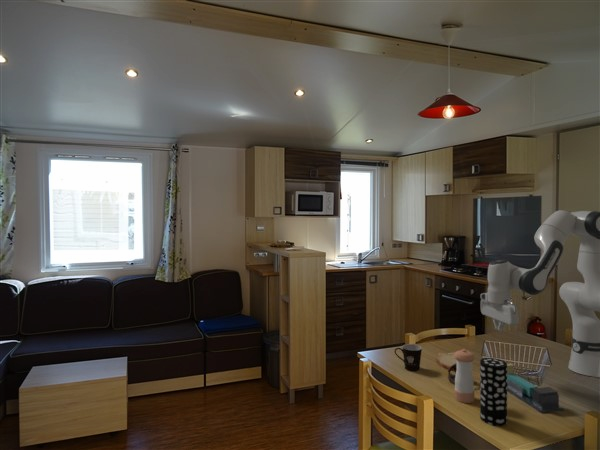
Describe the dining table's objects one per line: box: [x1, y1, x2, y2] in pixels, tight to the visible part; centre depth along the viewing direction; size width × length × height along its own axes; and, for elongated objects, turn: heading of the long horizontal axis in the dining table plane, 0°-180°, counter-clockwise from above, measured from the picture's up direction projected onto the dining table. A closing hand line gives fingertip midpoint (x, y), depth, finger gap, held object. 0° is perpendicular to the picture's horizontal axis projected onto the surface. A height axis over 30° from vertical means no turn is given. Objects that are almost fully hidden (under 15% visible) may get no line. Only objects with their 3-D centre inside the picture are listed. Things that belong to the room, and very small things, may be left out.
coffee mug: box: [394, 343, 423, 372], centre depth 183 cm, size 12×9×10 cm
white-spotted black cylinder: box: [479, 357, 508, 427], centre depth 136 cm, size 8×8×20 cm
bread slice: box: [435, 351, 457, 372], centre depth 189 cm, size 18×18×4 cm
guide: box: [507, 378, 565, 414], centre depth 153 cm, size 9×24×6 cm, turn 10°
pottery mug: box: [447, 363, 457, 382], centre depth 169 cm, size 12×10×8 cm
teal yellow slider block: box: [507, 362, 539, 397], centre depth 158 cm, size 4×15×7 cm, turn 10°
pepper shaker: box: [453, 348, 475, 404], centre depth 152 cm, size 7×7×19 cm
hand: (498, 330), depth 170 cm, fingers closed
